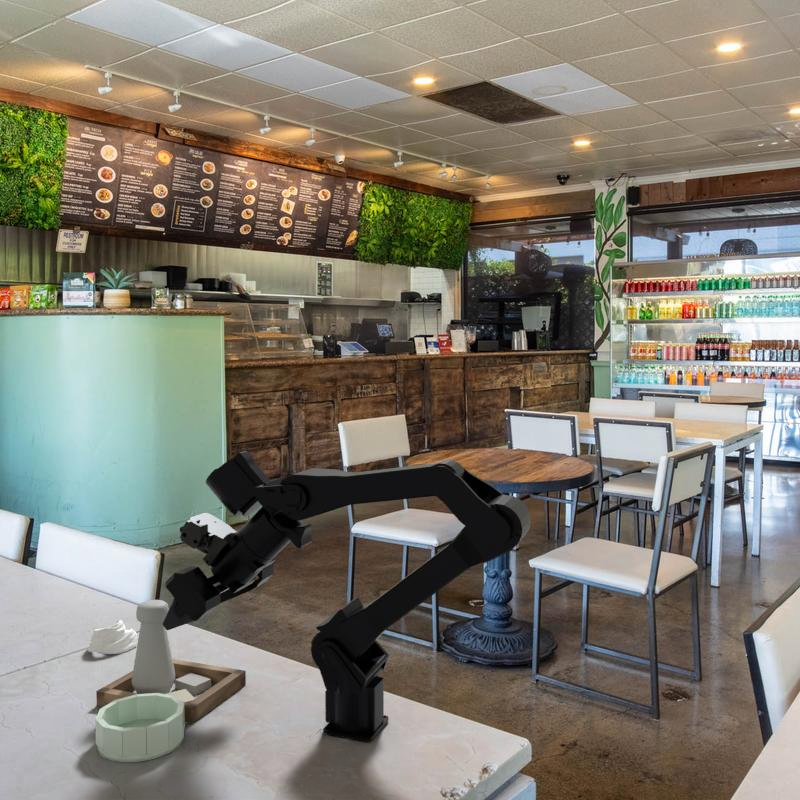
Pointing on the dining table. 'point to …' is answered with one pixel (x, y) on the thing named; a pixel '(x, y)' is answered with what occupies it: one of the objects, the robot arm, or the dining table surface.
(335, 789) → the dining table surface
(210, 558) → the robot arm
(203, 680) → the off-white rectangular block
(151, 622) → the salt shaker
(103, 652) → the whipped cream
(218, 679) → the tray
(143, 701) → the bowl
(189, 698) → the beige rectangular block
